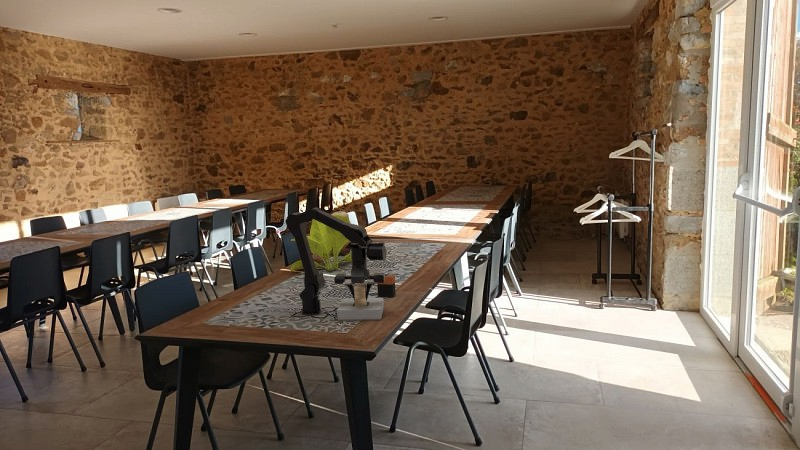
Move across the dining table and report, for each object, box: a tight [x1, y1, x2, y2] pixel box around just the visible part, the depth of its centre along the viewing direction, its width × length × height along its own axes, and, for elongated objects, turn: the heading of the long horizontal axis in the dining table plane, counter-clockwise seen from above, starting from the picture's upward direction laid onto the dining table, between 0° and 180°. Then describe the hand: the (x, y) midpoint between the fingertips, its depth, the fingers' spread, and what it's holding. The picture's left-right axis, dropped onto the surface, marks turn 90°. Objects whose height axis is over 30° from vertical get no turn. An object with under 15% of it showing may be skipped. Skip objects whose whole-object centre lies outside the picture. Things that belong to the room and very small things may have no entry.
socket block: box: [336, 297, 385, 322], centre depth 236 cm, size 16×16×4 cm
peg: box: [354, 283, 367, 306], centre depth 236 cm, size 4×4×10 cm
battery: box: [376, 271, 397, 298], centre depth 261 cm, size 4×7×10 cm, turn 73°
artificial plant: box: [289, 215, 352, 272], centre depth 318 cm, size 42×43×30 cm
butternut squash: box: [330, 210, 351, 256], centre depth 355 cm, size 14×13×25 cm
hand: (360, 300), depth 236 cm, fingers open, 4 cm apart
